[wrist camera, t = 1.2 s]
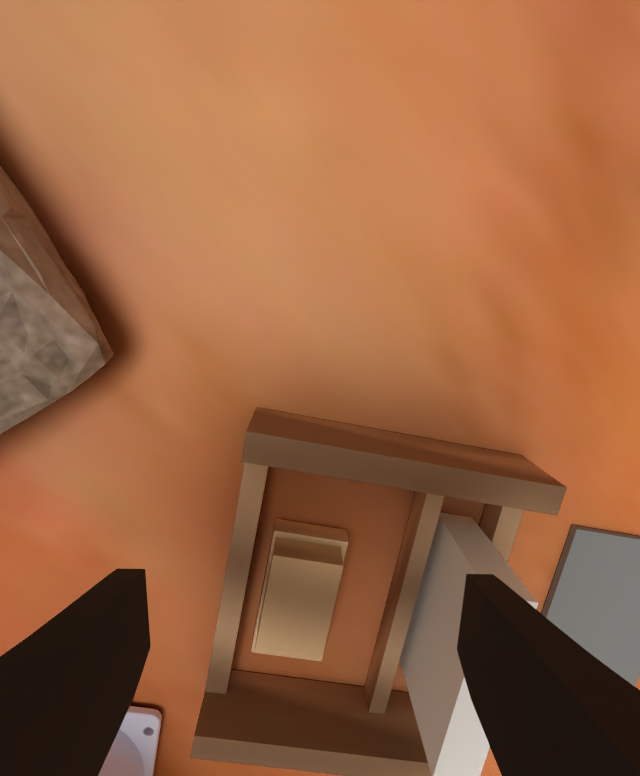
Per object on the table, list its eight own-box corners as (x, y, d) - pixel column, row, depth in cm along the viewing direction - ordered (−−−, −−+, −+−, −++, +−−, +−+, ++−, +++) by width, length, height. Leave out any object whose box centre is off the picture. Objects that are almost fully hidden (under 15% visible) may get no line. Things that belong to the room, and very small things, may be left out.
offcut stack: (319, 638, 22) (322, 686, 19) (254, 629, 22) (247, 677, 19) (345, 526, 21) (352, 560, 18) (276, 515, 21) (272, 548, 18)
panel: (430, 656, 22) (477, 783, 16) (397, 651, 22) (432, 778, 16) (471, 516, 21) (538, 602, 15) (435, 510, 21) (489, 595, 15)
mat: (612, 722, 24) (617, 729, 23) (508, 709, 23) (512, 716, 23) (684, 543, 21) (691, 548, 21) (571, 524, 21) (577, 529, 21)
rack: (441, 716, 23) (465, 789, 20) (207, 686, 22) (190, 758, 19) (521, 455, 20) (566, 487, 17) (256, 407, 19) (246, 431, 16)
